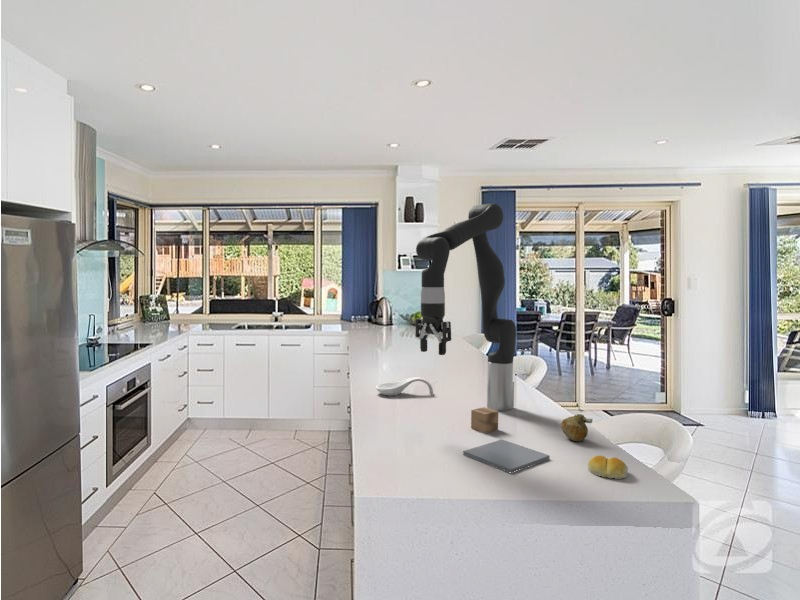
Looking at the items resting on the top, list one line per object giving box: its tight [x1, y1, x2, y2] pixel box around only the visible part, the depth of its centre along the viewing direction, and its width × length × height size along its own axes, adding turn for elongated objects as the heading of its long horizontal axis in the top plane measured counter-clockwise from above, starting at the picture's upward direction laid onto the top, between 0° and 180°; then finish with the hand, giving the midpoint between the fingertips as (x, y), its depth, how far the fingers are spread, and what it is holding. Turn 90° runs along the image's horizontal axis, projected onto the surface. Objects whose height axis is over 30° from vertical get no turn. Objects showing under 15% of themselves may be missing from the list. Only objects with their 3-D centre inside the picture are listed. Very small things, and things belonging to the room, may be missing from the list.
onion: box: [560, 414, 593, 442], centre depth 143 cm, size 8×8×8 cm
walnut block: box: [470, 406, 499, 434], centre depth 153 cm, size 6×6×6 cm
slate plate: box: [462, 439, 550, 474], centre depth 128 cm, size 16×16×1 cm
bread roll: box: [587, 455, 629, 480], centre depth 119 cm, size 8×9×4 cm
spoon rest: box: [375, 376, 434, 396], centre depth 199 cm, size 24×12×7 cm, turn 93°
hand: (432, 353), depth 151 cm, fingers open, 8 cm apart
